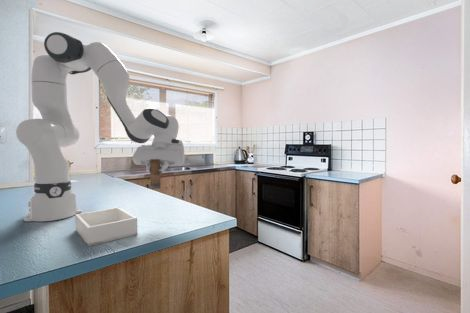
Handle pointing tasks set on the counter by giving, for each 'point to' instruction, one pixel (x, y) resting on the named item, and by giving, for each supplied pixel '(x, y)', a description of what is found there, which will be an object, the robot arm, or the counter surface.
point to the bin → (105, 225)
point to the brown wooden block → (154, 174)
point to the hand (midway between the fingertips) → (154, 171)
